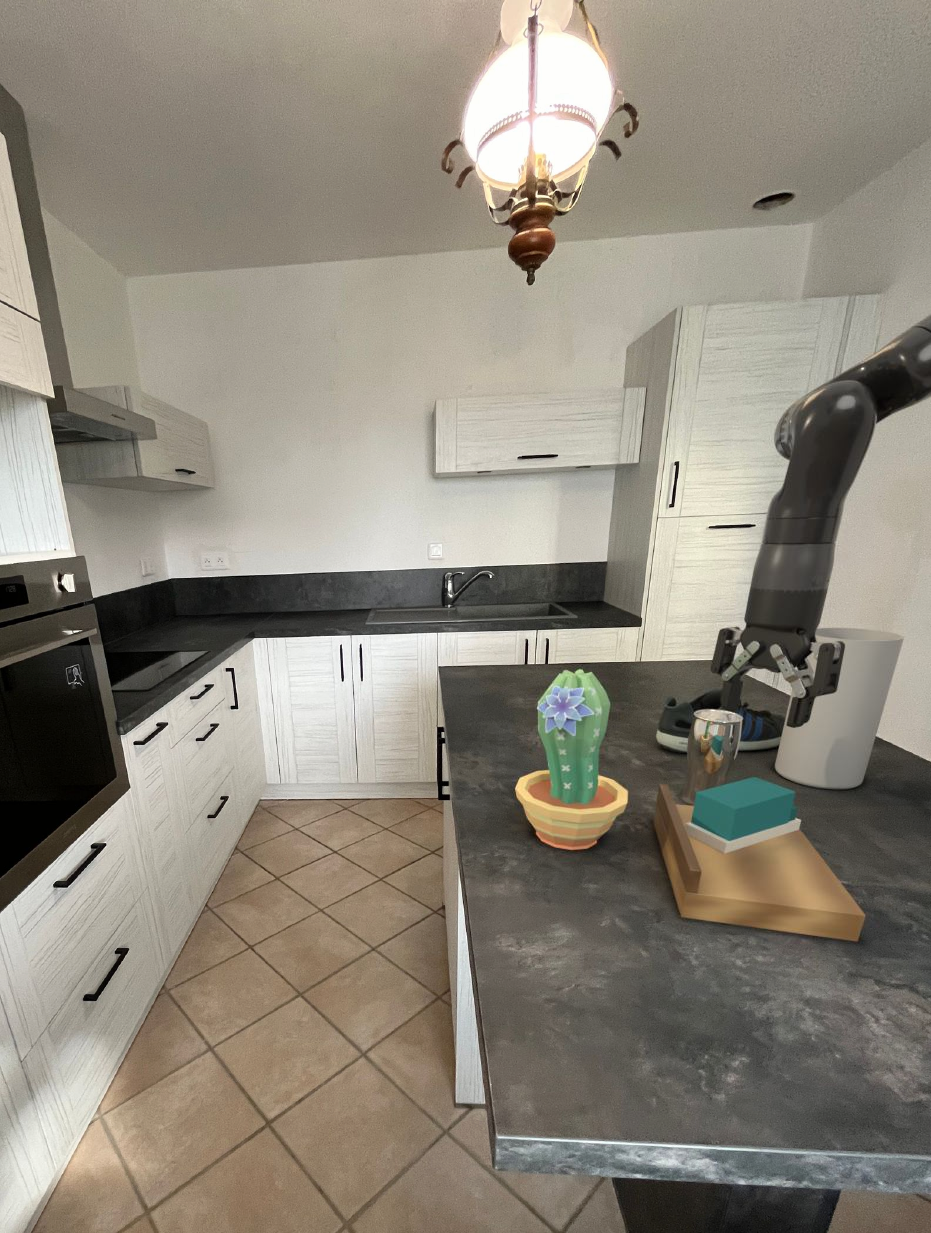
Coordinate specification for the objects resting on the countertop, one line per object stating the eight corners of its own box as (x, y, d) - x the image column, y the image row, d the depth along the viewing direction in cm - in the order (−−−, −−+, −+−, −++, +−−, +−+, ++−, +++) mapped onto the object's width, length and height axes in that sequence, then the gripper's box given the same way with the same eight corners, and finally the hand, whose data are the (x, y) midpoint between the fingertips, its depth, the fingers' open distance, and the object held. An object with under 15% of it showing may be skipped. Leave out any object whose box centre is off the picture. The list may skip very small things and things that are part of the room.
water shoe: (808, 745, 118) (822, 688, 114) (683, 763, 112) (693, 704, 108) (763, 729, 128) (775, 677, 124) (646, 745, 121) (653, 690, 117)
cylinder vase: (818, 795, 97) (858, 643, 88) (757, 767, 109) (786, 630, 100) (881, 786, 99) (925, 637, 91) (814, 760, 111) (848, 625, 102)
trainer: (756, 811, 84) (764, 773, 82) (799, 830, 79) (809, 789, 77) (683, 833, 79) (691, 792, 77) (724, 853, 74) (733, 810, 72)
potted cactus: (492, 827, 91) (498, 667, 82) (573, 807, 96) (587, 655, 87) (557, 877, 78) (574, 693, 69) (647, 851, 83) (674, 676, 74)
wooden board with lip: (782, 839, 85) (793, 794, 82) (856, 946, 63) (873, 891, 61) (652, 826, 90) (659, 784, 87) (680, 922, 68) (690, 869, 66)
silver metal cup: (706, 816, 92) (723, 725, 86) (668, 799, 98) (682, 712, 92) (736, 807, 94) (755, 717, 89) (697, 791, 100) (713, 706, 95)
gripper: (878, 586, 64) (840, 728, 70) (753, 578, 76) (730, 699, 82) (832, 591, 61) (797, 738, 67) (711, 582, 74) (690, 707, 80)
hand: (760, 717), depth 75 cm, fingers open, 8 cm apart
